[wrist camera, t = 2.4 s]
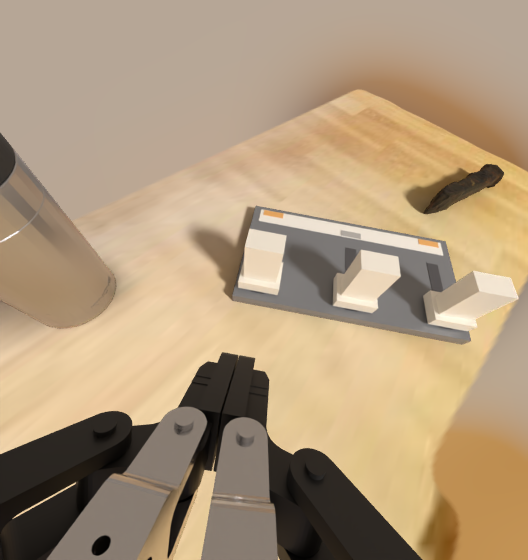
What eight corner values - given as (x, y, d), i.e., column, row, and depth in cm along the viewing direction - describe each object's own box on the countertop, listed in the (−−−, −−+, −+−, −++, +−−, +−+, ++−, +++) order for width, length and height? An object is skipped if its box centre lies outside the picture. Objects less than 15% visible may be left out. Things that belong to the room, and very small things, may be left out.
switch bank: (232, 300, 33) (232, 294, 32) (255, 212, 41) (255, 204, 40) (462, 344, 33) (472, 340, 31) (439, 247, 41) (446, 240, 40)
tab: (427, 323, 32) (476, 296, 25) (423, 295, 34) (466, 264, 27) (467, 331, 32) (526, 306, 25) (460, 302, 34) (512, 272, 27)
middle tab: (332, 305, 32) (356, 274, 25) (333, 278, 34) (356, 243, 27) (372, 313, 32) (406, 283, 25) (370, 285, 34) (402, 251, 27)
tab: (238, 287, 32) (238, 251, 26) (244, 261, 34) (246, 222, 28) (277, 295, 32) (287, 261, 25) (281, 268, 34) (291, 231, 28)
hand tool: (474, 177, 52) (493, 156, 48) (491, 189, 50) (512, 169, 46) (410, 205, 46) (426, 184, 42) (427, 220, 45) (445, 200, 40)
